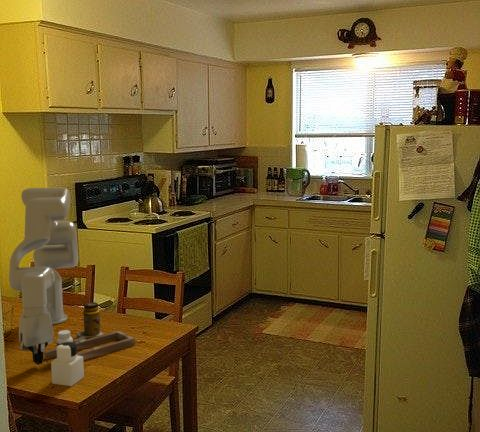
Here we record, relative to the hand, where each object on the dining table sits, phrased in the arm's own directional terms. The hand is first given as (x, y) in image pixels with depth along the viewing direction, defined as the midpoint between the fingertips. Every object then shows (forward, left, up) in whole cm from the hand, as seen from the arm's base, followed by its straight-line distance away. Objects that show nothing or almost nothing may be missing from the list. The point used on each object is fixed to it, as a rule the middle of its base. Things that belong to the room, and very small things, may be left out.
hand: (38, 362), depth 183 cm
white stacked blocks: (+16, +3, -2) cm, 16 cm away
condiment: (-16, +28, -2) cm, 32 cm away
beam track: (-1, +19, -1) cm, 19 cm away
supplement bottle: (0, +10, -2) cm, 10 cm away
